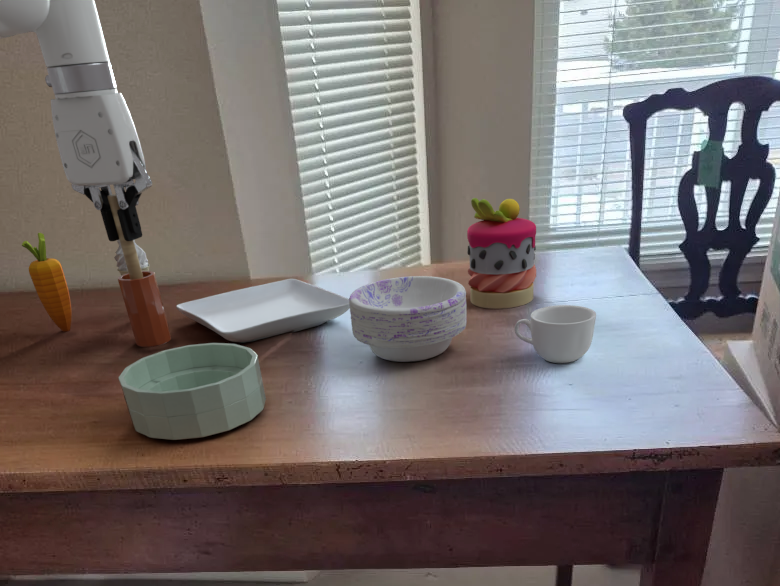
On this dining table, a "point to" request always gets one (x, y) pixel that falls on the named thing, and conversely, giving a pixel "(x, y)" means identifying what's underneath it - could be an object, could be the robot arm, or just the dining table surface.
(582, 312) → the teacup
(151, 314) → the utensil crock
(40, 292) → the carrot
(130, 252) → the stirring stick
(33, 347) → the dining table surface
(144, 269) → the ice cream cone
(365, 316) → the paper bowls
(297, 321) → the plate
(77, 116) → the robot arm
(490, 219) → the cake
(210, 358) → the mixing bowl
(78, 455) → the dining table surface
